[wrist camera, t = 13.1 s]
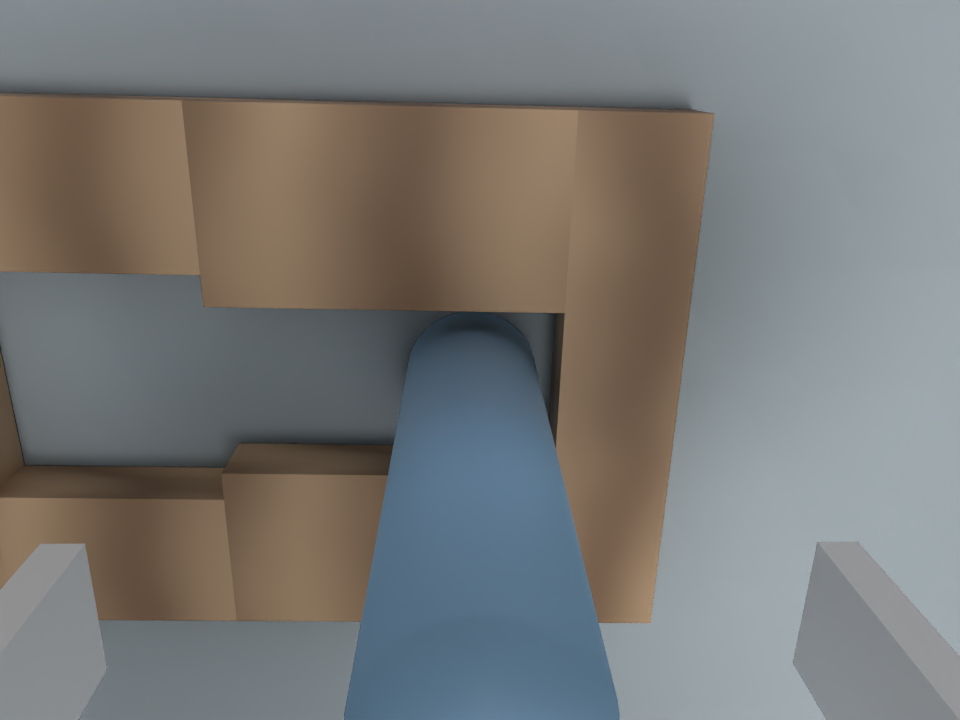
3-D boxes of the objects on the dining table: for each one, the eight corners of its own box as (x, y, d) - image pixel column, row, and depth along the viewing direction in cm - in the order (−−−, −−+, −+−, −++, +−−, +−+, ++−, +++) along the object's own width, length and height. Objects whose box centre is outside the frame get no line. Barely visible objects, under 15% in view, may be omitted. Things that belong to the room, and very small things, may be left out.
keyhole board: (-55, 580, 27) (-95, 618, 25) (-185, 87, 21) (-248, 89, 19) (637, 584, 27) (650, 623, 25) (692, 109, 22) (714, 113, 20)
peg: (408, 429, 25) (348, 828, 12) (407, 310, 24) (338, 614, 10) (531, 430, 25) (607, 826, 12) (538, 312, 24) (631, 616, 11)
